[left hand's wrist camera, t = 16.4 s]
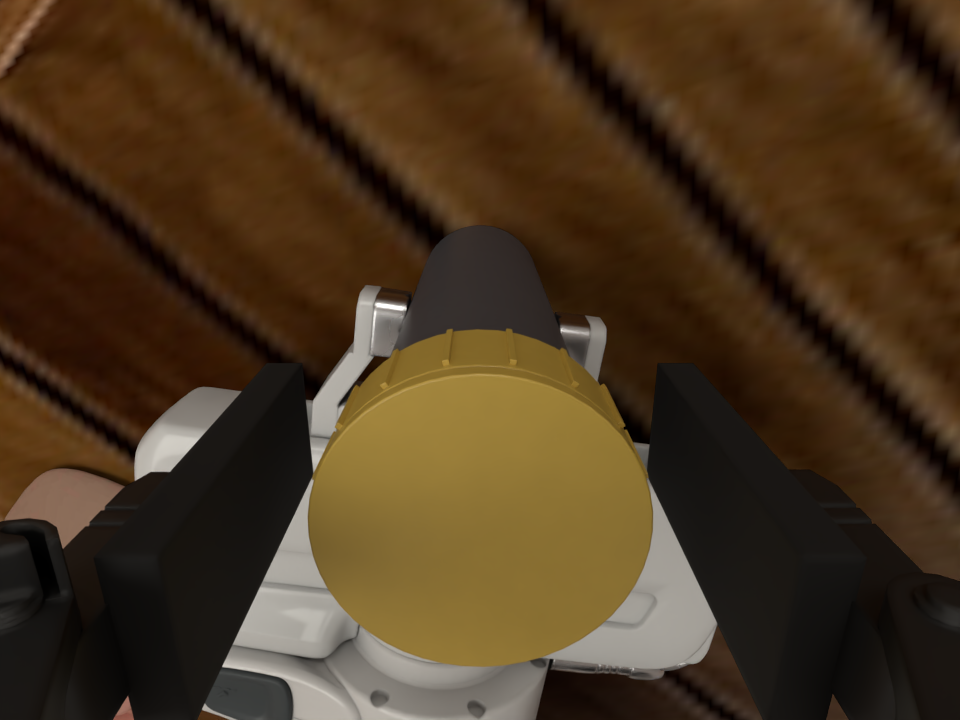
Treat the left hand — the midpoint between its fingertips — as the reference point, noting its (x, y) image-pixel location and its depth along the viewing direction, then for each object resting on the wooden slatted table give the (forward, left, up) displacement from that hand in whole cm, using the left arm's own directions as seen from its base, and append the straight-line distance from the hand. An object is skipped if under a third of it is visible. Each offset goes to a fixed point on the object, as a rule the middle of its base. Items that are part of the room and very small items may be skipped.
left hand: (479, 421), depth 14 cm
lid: (0, 0, +4) cm, 4 cm away
